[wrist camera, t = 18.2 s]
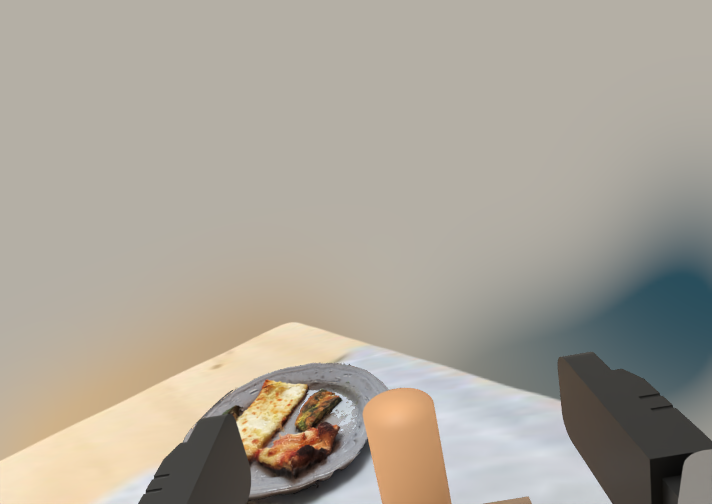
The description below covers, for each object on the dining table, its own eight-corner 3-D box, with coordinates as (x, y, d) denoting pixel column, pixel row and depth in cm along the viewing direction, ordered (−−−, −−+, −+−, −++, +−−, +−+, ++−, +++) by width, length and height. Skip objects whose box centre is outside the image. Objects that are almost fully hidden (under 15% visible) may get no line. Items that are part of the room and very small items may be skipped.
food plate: (322, 537, 41) (313, 503, 40) (139, 493, 52) (129, 465, 51) (413, 383, 62) (409, 359, 62) (271, 374, 73) (265, 353, 72)
